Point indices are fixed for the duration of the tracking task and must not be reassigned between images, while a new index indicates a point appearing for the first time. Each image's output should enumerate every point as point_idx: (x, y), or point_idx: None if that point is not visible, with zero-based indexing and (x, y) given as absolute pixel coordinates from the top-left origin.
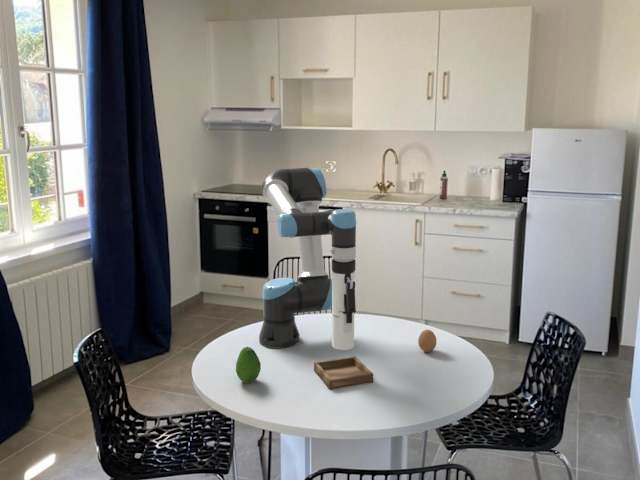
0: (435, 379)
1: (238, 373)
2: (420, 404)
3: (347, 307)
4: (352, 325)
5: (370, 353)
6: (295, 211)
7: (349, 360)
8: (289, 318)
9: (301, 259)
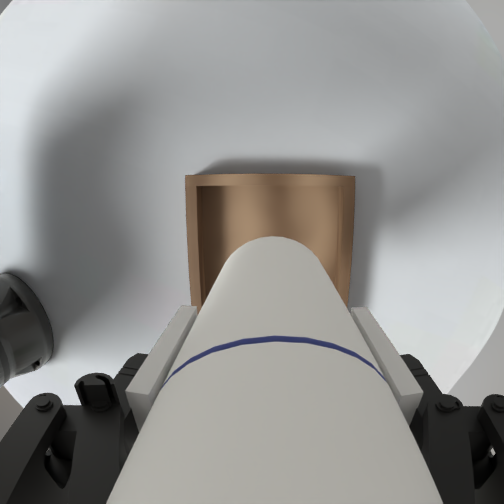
0: (377, 11)
1: None
2: (485, 131)
3: (477, 483)
4: (347, 309)
5: (131, 99)
6: None
7: (198, 203)
8: None
9: None
